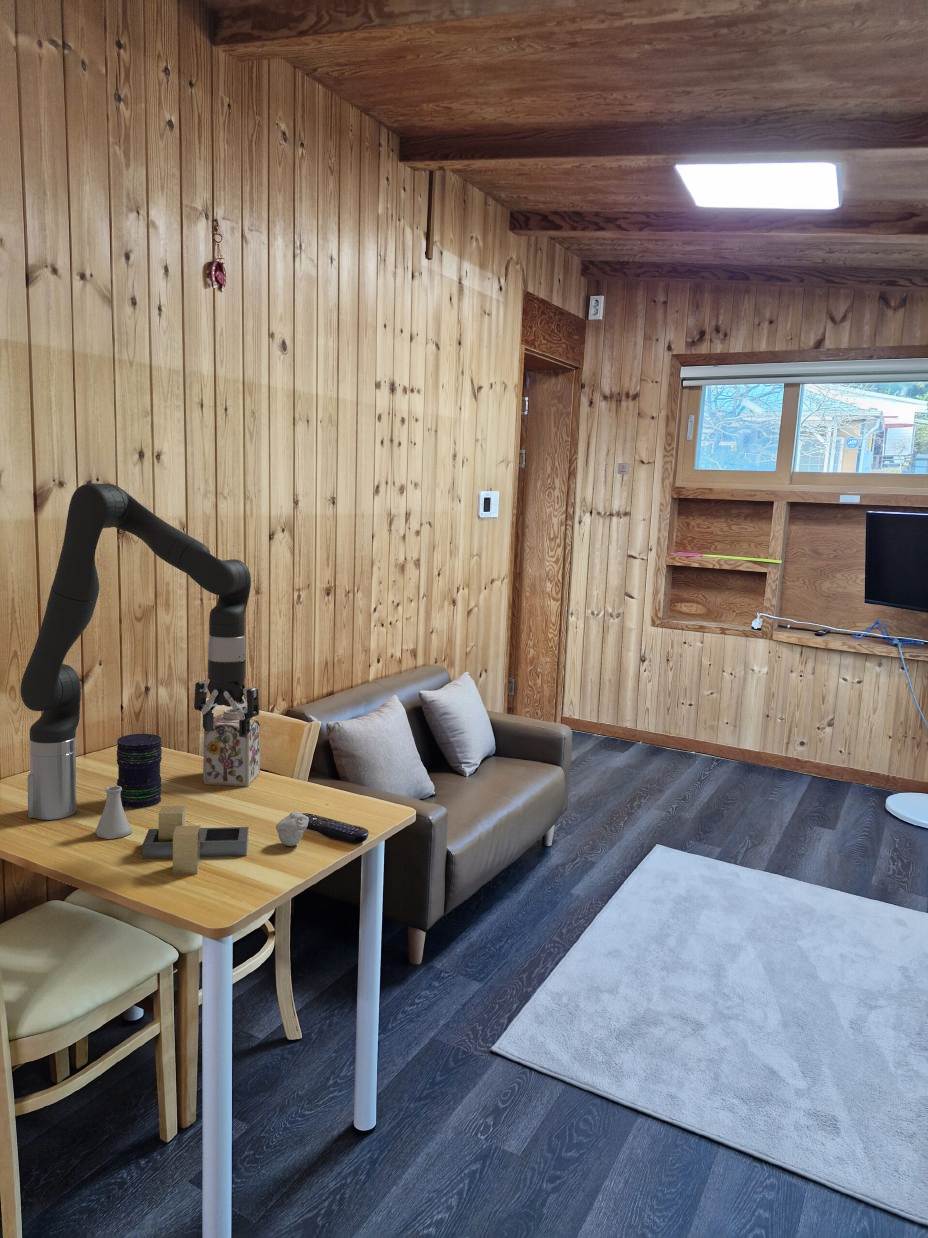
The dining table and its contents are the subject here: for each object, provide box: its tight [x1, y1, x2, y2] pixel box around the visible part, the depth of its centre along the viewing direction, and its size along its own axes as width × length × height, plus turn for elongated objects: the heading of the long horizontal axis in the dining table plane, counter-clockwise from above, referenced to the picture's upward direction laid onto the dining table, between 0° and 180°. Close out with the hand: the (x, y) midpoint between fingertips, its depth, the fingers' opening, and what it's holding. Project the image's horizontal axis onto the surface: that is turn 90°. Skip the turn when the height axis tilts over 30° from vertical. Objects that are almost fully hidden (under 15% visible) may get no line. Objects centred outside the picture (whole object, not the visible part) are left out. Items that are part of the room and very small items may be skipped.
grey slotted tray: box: [142, 826, 249, 859], centre depth 183 cm, size 20×8×3 cm, turn 101°
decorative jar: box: [202, 707, 261, 788], centre depth 228 cm, size 12×12×18 cm
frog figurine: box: [275, 811, 310, 847], centre depth 188 cm, size 6×7×7 cm
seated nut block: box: [158, 805, 186, 842], centre depth 182 cm, size 4×4×8 cm
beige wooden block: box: [172, 825, 201, 876], centre depth 173 cm, size 4×4×8 cm
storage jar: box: [116, 733, 163, 809], centre depth 209 cm, size 10×10×15 cm
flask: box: [94, 785, 133, 840], centre depth 189 cm, size 7×7×10 cm
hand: (226, 733), depth 186 cm, fingers open, 8 cm apart
